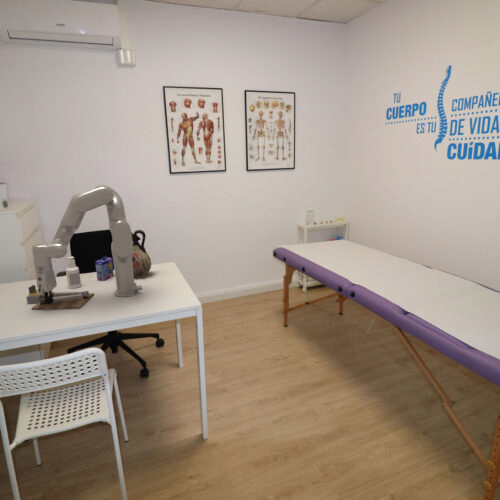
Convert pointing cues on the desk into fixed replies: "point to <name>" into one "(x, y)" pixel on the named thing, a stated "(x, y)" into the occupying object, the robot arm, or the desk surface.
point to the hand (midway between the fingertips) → (49, 302)
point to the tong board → (63, 304)
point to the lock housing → (34, 299)
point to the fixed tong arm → (64, 293)
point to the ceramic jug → (140, 256)
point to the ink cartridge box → (104, 268)
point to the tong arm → (67, 298)
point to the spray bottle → (72, 274)
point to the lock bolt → (33, 291)
